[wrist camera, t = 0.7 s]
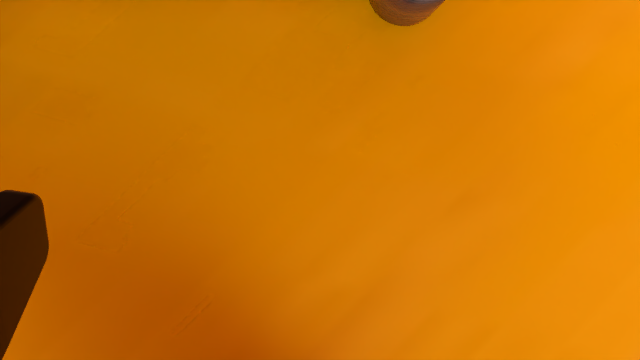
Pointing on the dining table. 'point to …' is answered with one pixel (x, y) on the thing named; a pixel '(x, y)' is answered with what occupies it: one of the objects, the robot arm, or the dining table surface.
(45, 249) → the robot arm
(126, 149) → the dining table surface
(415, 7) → the brown gate
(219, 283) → the dining table surface
